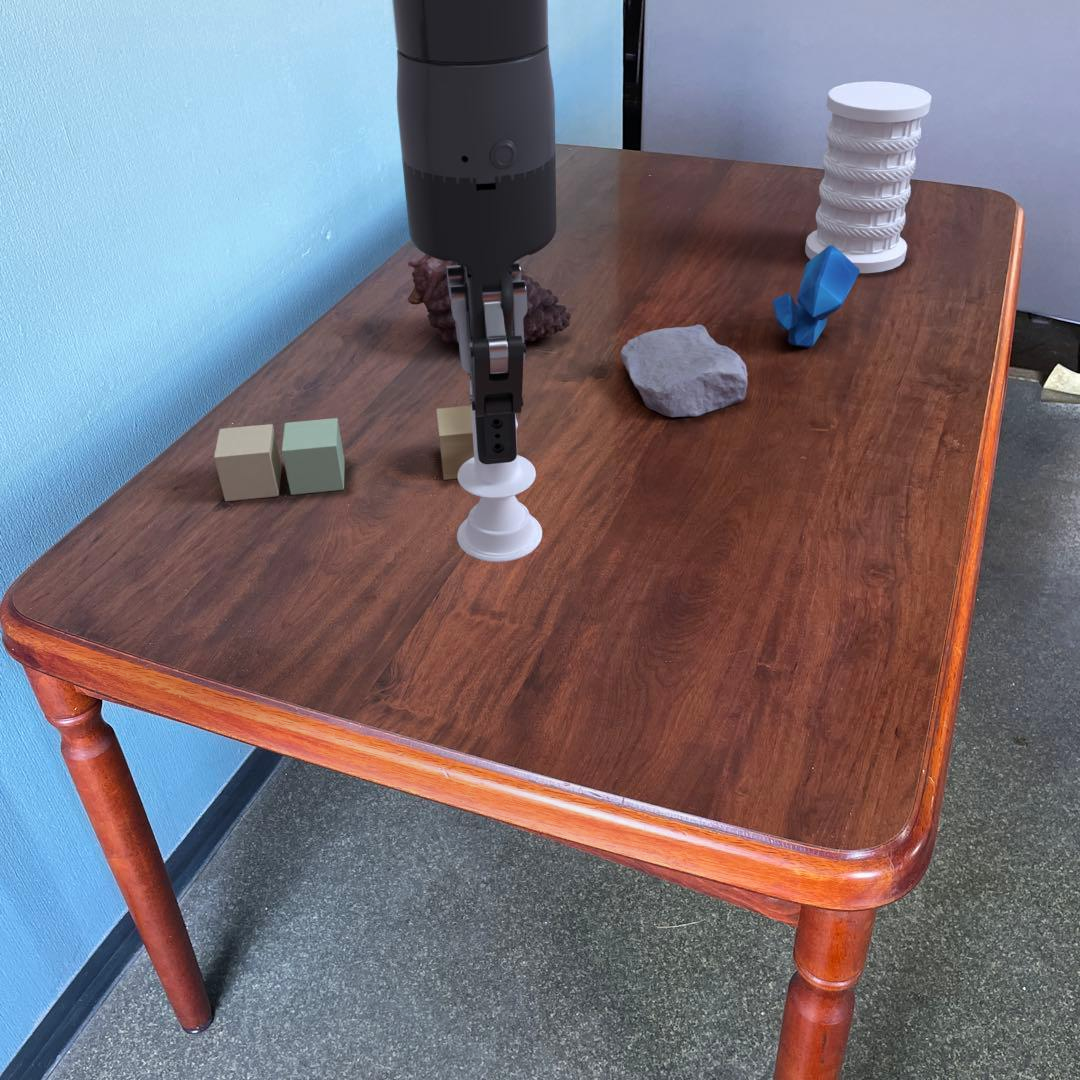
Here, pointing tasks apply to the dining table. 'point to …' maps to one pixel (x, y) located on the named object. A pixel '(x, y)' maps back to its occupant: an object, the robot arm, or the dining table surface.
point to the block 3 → (455, 438)
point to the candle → (497, 508)
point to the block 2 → (313, 456)
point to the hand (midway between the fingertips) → (494, 445)
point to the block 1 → (248, 462)
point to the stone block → (684, 371)
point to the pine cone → (436, 298)
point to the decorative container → (868, 172)
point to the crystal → (816, 296)
